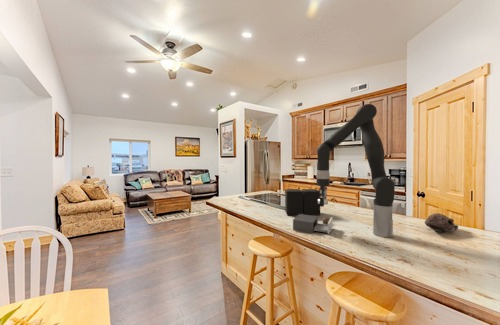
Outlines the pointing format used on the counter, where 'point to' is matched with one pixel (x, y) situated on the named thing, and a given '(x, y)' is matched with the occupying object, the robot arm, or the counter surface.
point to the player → (305, 223)
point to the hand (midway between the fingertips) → (322, 205)
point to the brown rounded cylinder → (325, 220)
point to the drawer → (324, 227)
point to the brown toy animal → (440, 222)
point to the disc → (324, 201)
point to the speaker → (302, 202)
